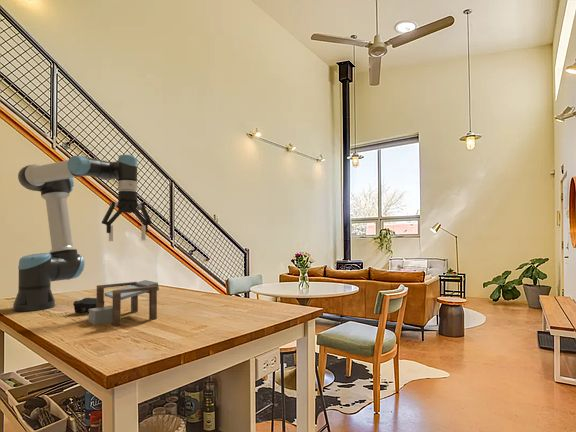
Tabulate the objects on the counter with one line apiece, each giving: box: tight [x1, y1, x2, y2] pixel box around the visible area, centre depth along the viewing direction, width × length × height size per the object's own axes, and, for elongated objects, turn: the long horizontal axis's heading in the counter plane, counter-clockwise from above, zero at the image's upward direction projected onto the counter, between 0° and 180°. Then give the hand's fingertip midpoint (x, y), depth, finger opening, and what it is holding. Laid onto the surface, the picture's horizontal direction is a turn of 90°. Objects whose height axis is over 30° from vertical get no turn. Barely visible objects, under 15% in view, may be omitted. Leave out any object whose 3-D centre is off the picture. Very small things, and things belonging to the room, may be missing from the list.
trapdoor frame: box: [96, 281, 158, 327], centre depth 141 cm, size 20×15×12 cm
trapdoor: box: [104, 279, 160, 301], centre depth 143 cm, size 15×16×3 cm
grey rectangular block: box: [88, 305, 113, 326], centre depth 136 cm, size 6×5×8 cm
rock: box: [72, 297, 105, 314], centre depth 154 cm, size 10×9×6 cm
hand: (127, 240), depth 160 cm, fingers open, 13 cm apart
